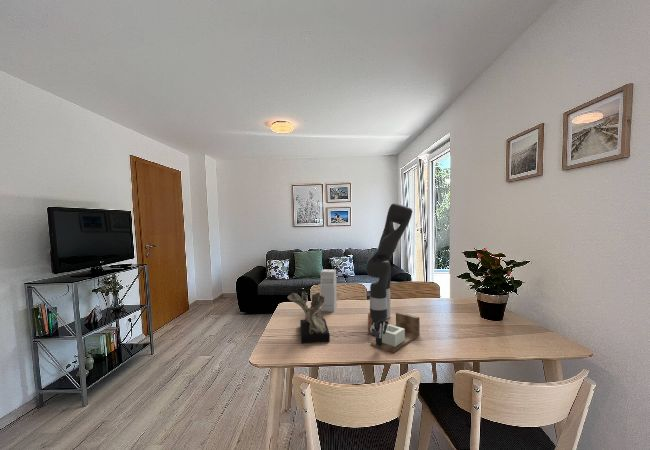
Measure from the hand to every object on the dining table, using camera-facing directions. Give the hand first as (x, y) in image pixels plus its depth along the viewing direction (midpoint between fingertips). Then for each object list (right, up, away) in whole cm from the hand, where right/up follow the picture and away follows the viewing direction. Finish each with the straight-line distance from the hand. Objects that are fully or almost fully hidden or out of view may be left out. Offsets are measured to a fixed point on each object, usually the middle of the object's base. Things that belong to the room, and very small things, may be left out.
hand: (378, 345), depth 125 cm
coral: (-32, -3, +18) cm, 37 cm away
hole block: (+7, -1, +8) cm, 11 cm away
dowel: (0, -2, +19) cm, 19 cm away
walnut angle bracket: (+10, -2, +11) cm, 15 cm away
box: (-21, -1, +57) cm, 61 cm away
